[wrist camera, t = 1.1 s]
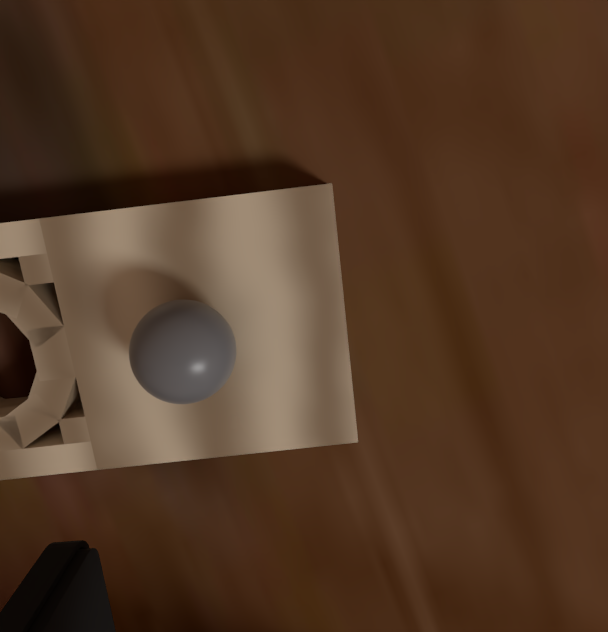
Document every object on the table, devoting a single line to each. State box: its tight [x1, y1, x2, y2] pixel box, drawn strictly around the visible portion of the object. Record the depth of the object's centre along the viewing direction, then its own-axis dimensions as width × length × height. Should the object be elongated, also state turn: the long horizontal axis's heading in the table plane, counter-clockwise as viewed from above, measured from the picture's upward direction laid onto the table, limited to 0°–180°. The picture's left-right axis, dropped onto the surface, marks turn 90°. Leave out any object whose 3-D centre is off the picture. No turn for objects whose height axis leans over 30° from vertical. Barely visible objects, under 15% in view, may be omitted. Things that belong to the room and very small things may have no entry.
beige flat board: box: [0, 183, 358, 480], centre depth 28 cm, size 28×14×3 cm, turn 97°
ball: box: [129, 300, 236, 404], centre depth 24 cm, size 5×5×5 cm
